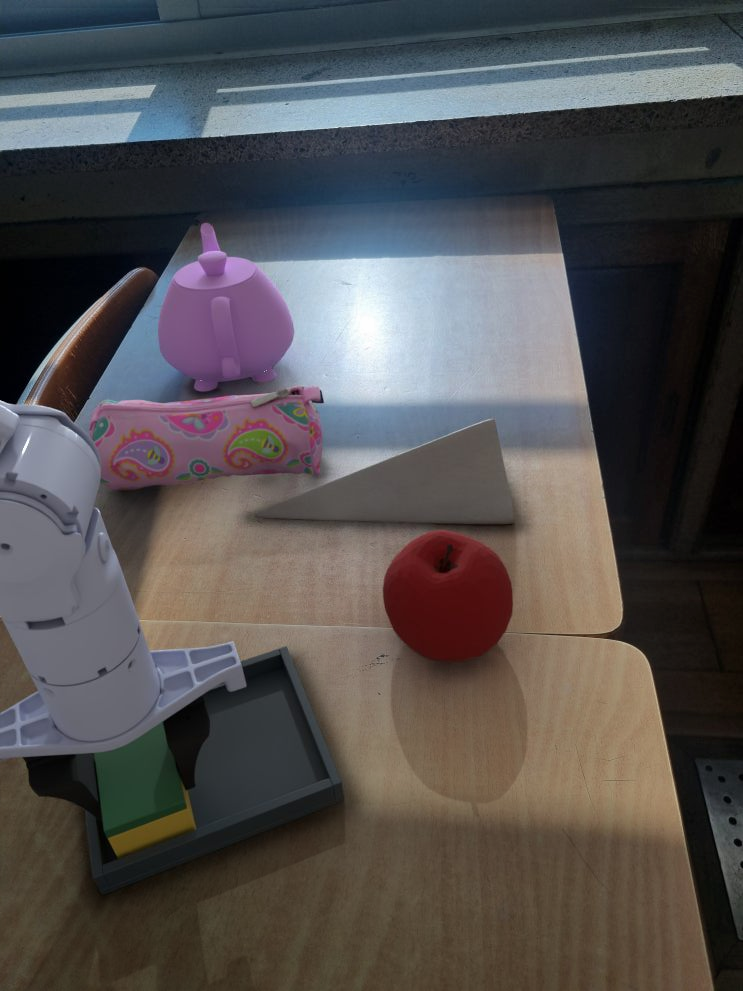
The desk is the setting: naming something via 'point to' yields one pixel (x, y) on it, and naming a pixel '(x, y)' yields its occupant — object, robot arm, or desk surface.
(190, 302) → the teapot
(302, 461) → the pencil case
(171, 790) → the sponge
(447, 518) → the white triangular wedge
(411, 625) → the apple
